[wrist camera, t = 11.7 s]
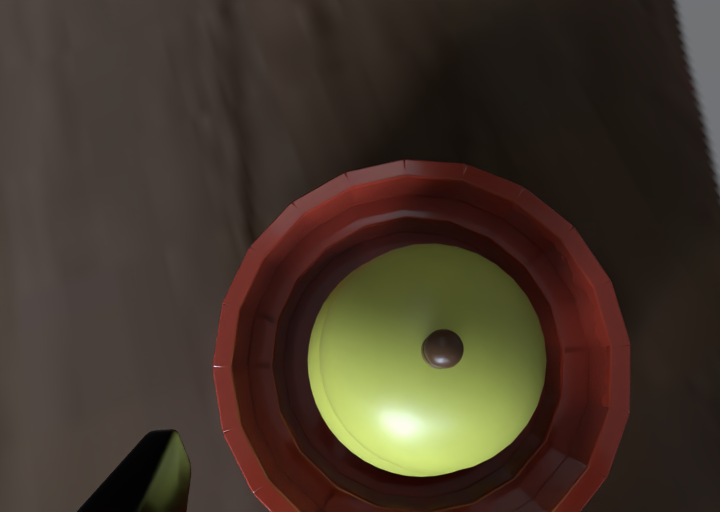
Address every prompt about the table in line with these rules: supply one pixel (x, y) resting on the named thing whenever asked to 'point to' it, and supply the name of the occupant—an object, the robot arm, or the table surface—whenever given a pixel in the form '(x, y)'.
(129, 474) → the robot arm
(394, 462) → the pear
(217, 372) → the bowl
